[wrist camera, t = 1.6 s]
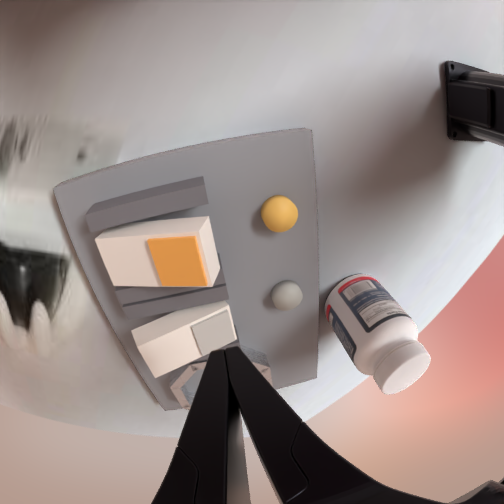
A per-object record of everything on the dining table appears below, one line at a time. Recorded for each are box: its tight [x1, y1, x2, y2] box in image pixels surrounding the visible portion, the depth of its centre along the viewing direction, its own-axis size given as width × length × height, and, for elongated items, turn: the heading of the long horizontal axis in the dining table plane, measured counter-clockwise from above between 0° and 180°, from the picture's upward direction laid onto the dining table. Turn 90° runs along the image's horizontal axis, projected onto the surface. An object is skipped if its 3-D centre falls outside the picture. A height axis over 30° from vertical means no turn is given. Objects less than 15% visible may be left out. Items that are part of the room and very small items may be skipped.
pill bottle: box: [325, 274, 431, 395], centre depth 20 cm, size 5×5×9 cm
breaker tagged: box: [95, 216, 220, 287], centre depth 15 cm, size 6×3×2 cm, turn 97°
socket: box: [170, 345, 273, 410], centre depth 23 cm, size 8×8×2 cm
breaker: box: [131, 300, 237, 378], centre depth 18 cm, size 6×3×2 cm, turn 99°
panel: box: [53, 128, 319, 411], centre depth 20 cm, size 15×22×3 cm
